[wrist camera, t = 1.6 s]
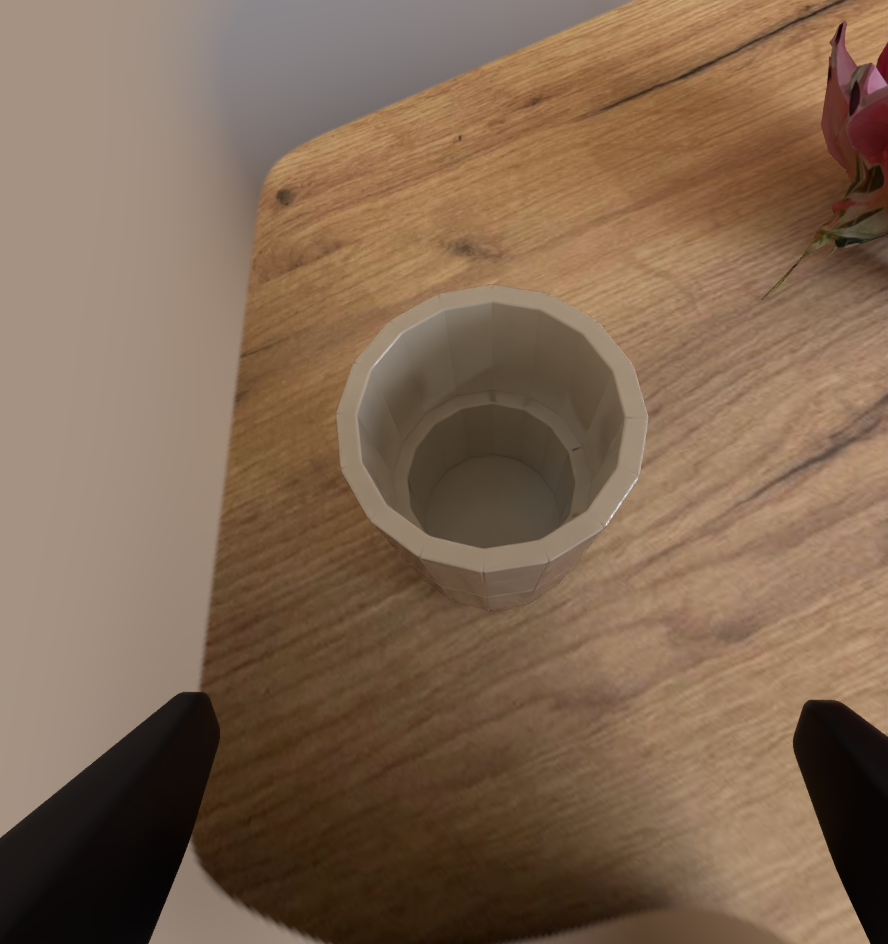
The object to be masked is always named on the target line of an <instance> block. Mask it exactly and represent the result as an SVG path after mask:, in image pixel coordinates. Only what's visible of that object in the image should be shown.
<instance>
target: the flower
mask: <svg viewBox="0 0 888 944" xmlns="http://www.w3.org/2000/svg"><path fill="white" fill-rule="evenodd" d="M846 26H847V23H846V21H844V22H843V23H841V24H840V25H839V27H838V29H837V31H836V33H835V35H834V37H833V38H832V40H831V41H830V44H831V46H832V53H831V57H829V68H828V80H827V89H826V95H825V102H824V108H823V115H822V121H821V126H822V130H823V134H824V137H825V141H826V144H827V148H828V151H829V153H830V154H831V155H832V156H833V157H834V159H835V160H836V161H837V162H838V163H839V164H840V165H841V166H842V167H843V168H844V169H845V170H846V173H847V174H848V176H849V177H850V179H851V181H852V184H851V186H850V188H849V190H848V192H847V194H846V196H845V198H844V199H842V200H840V201H838V202H837V203H835V204H833V205H832V209H833V211H834V213H835V214H834V216H833V217H832V219H831V220H830V221H828V222H827V223H825V224H824V225H823V226H821V227H820V228H819V230H818V231H817V233H816V234H815V236H814V238H813V239H812V241H811V243H810V244H809V246H808V248H807V249H806V251H805V253H804V254H803V256H802V257H801V258H800V259H799V260H798V262H797V263H796V264H795V265H794V266H793V267H792V268H791V269H790V270H789V272H788V273H787V274H786V275H785V276H784V277H783V278H782V279H781V280H780V281H779V282H778V283H777V284H776V285H775V286H774V287H773V288H772V289H771V290H770V291H769V292H768V293H767V294H766V295H765V296H764V297H763V298H762V299H761V300H763V299H764V298H766V297H767V296H768V295H769V294H770V293H771V292H772V291H773V290H775V289H776V288H777V287H778V286H779V285H780V284H781V283H782V282H783V281H784V279H785V278H786V277H787V276H788V275H789V274H790V272H791V271H792V270H793V269H794V268H795V266H796V265H797V264H798V263H799V262H800V261H801V259H802V258H804V257H806V256H807V255H809V254H810V253H812V252H814V251H815V250H817V249H819V248H821V247H823V246H825V245H826V244H828V243H830V242H832V241H834V240H835V244H836V245H835V246H834V248H833V250H832V251H831V253H830V255H831V254H832V253H833V252H835V251H836V250H837V249H838V248H843V249H844V248H848V247H851V246H855V245H859V244H862V243H865V242H868V241H871V240H873V239H876V238H879V237H882V236H884V235H886V234H888V43H887V45H886V46H885V48H884V50H883V51H882V53H881V55H880V56H879V58H878V62H877V66H876V67H875V66H874V65H873V64H872V63H869V64H864V65H860V66H858V67H857V66H856V64H855V63H854V61H853V59H852V58H851V56H850V55H849V53H848V52H847V51H846V48H845V31H846ZM830 255H829V256H830ZM829 256H828V257H829Z"/></svg>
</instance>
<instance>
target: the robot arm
mask: <svg viewBox="0 0 888 944" xmlns="http://www.w3.org/2000/svg"><path fill="white" fill-rule="evenodd" d="M219 739H220V727H219V723H218V721H217V718H216V715H215V712H214V709H213V706H212V703H211V700H210V698H209V696H208V695H207V694H206V693H204V692H182V693H179V694H177V695H176V696H174V697H173V698H172V699H171V700H170V701H168V702H167V703H166V704H165V705H163V706H162V707H161V708H160V709H158V710H157V711H156V712H155V713H154V714H152V715H151V716H150V717H149V718H147V719H146V720H145V721H144V722H142V723H141V724H140V725H139V726H137V727H136V728H135V729H134V730H133V731H131V732H130V733H129V734H128V735H126V736H125V737H124V738H123V739H121V740H120V741H119V742H118V743H117V744H115V745H114V746H113V747H112V748H110V749H109V750H108V751H107V752H106V753H104V754H103V755H102V756H101V757H99V758H98V759H97V760H96V761H94V762H93V763H92V764H91V765H90V766H88V767H87V768H86V769H85V770H83V771H82V772H81V773H80V774H78V775H77V776H76V777H75V778H74V779H72V780H71V781H70V782H69V783H67V784H66V785H65V786H64V787H62V788H61V789H60V790H59V791H58V792H56V793H55V794H54V795H53V796H51V797H50V798H49V799H48V800H46V801H45V802H44V803H43V804H41V805H40V806H39V807H38V808H37V809H35V810H34V811H33V812H32V813H30V814H29V815H28V816H27V817H25V818H24V819H23V820H22V821H21V822H19V823H18V824H17V825H16V826H15V827H13V828H12V829H11V830H10V831H8V832H7V833H6V834H5V835H3V836H2V837H1V838H0V944H148V943H149V941H150V939H151V936H152V934H153V931H154V929H155V926H156V924H157V921H158V919H159V916H160V914H161V911H162V909H163V906H164V904H165V902H166V899H167V897H168V894H169V891H170V889H171V887H172V884H173V882H174V879H175V877H176V874H177V872H178V869H179V867H180V864H181V862H182V859H183V857H184V854H185V851H186V849H187V846H188V843H189V840H190V837H191V834H192V831H193V828H194V825H195V821H196V818H197V815H198V811H199V808H200V805H201V801H202V798H203V795H204V791H205V788H206V784H207V781H208V778H209V774H210V771H211V768H212V764H213V761H214V758H215V754H216V751H217V748H218V744H219ZM793 748H794V753H795V756H796V759H797V762H798V765H799V768H800V770H801V773H802V776H803V779H804V782H805V784H806V787H807V790H808V793H809V796H810V798H811V801H812V804H813V807H814V810H815V813H816V815H817V818H818V821H819V824H820V827H821V829H822V832H823V835H824V838H825V841H826V843H827V846H828V849H829V852H830V854H831V857H832V859H833V862H834V865H835V867H836V870H837V872H838V874H839V876H840V879H841V881H842V883H843V886H844V888H845V890H846V892H847V894H848V896H849V899H850V901H851V903H852V905H853V907H854V909H855V911H856V914H857V916H858V918H859V920H860V922H861V924H862V926H863V929H864V931H865V933H866V935H867V937H868V939H869V941H870V944H888V737H887V736H886V735H885V734H883V733H882V732H881V731H879V730H878V729H877V728H875V727H874V726H873V725H871V724H870V723H869V722H867V721H866V720H865V719H863V718H862V717H861V716H859V715H858V714H857V713H855V712H854V711H853V710H851V709H850V708H849V707H847V706H846V705H844V704H843V703H841V702H839V701H835V700H809V701H807V702H806V703H805V704H804V706H803V709H802V712H801V715H800V718H799V721H798V724H797V727H796V730H795V733H794V737H793Z"/></svg>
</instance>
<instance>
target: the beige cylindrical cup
mask: <svg viewBox="0 0 888 944" xmlns="http://www.w3.org/2000/svg"><path fill="white" fill-rule="evenodd" d="M336 423H337V435H338V446H339V458H340V468H341V469H342V473H343V475H344V477H345V479H346V480H347V482H348V484H349V486H350V488H351V489H352V491H353V493H354V495H355V497H356V498H357V500H358V502H359V504H360V505H361V507H362V509H363V511H364V513H365V514H366V516H367V518H368V519H369V520H370V521H371V523H372V524H373V525H374V526H375V527H376V528H377V529H378V530H379V531H380V533H381V534H382V535H383V536H384V537H385V538H386V539H387V540H388V541H389V542H390V543H391V545H392V546H393V547H394V548H395V549H396V550H397V551H398V552H399V553H400V554H401V556H402V557H403V558H404V559H405V560H406V561H407V562H408V563H409V564H410V565H411V566H412V568H413V569H414V570H415V571H416V572H417V573H418V574H419V575H420V576H421V577H422V579H423V580H424V581H425V582H427V583H428V584H429V585H431V586H432V587H433V588H435V589H436V590H437V591H439V592H440V593H441V594H443V595H444V596H445V597H447V598H448V599H449V600H451V601H453V602H455V603H459V604H463V605H467V606H471V607H475V608H479V609H483V610H489V611H493V610H499V609H506V608H512V607H519V606H525V605H526V604H529V603H531V602H532V601H534V600H535V599H537V598H539V597H540V596H542V595H543V594H545V593H547V592H548V591H550V590H551V589H553V588H555V587H556V586H557V585H558V584H559V583H560V582H561V581H562V580H563V578H564V577H565V576H566V575H567V574H568V572H569V571H570V570H571V569H572V567H573V566H574V565H575V564H576V563H577V561H578V560H579V559H580V558H581V556H582V555H583V554H584V553H585V551H586V550H587V549H588V548H589V547H590V545H591V544H592V543H593V542H594V540H595V539H596V538H597V537H598V536H599V534H600V533H601V532H602V531H603V529H604V528H605V527H606V526H607V524H608V523H609V521H610V520H611V518H612V517H613V515H614V514H615V513H616V511H617V510H618V508H619V507H620V505H621V504H622V502H623V501H624V499H625V498H626V496H627V495H628V493H629V492H630V490H631V489H632V487H633V486H634V485H635V483H636V482H637V480H638V476H639V475H640V471H641V465H642V458H643V452H644V446H645V440H646V433H647V427H648V414H647V410H646V407H645V403H644V400H643V396H642V393H641V389H640V386H639V382H638V379H637V375H636V372H635V368H634V365H633V364H632V362H631V361H630V360H629V358H628V357H627V356H626V355H625V354H624V352H623V351H622V350H621V349H620V347H619V346H618V345H617V344H616V343H615V341H614V340H613V339H612V338H611V337H610V335H609V334H608V333H607V332H606V331H605V329H604V328H603V327H602V326H601V324H600V323H599V322H596V320H595V319H594V318H592V317H590V316H588V315H587V314H585V313H583V312H581V311H579V310H577V309H576V308H574V307H572V306H570V305H568V304H567V303H565V302H563V301H561V300H559V299H558V298H556V297H554V296H552V295H550V294H548V295H547V293H544V292H537V291H531V290H525V289H518V288H512V287H506V286H500V285H493V286H492V285H486V286H480V287H474V288H469V289H463V290H457V291H452V292H446V293H440V294H438V296H437V295H434V296H433V297H431V298H429V299H427V300H426V301H424V302H422V303H420V304H418V305H417V306H415V307H413V308H411V309H409V310H408V311H406V312H404V313H402V314H400V315H399V316H397V317H395V318H393V319H391V320H390V322H388V323H387V324H386V325H385V326H384V327H383V328H382V330H381V331H380V332H379V333H378V334H377V335H376V337H375V338H374V339H373V340H372V341H371V342H370V344H369V345H368V346H367V347H366V348H365V349H364V351H363V352H362V353H361V354H360V355H359V356H358V358H357V359H356V360H355V362H354V363H353V365H352V368H351V371H350V374H349V377H348V380H347V383H346V386H345V389H344V392H343V395H342V398H341V401H340V403H339V406H338V409H337V415H336Z"/></svg>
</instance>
